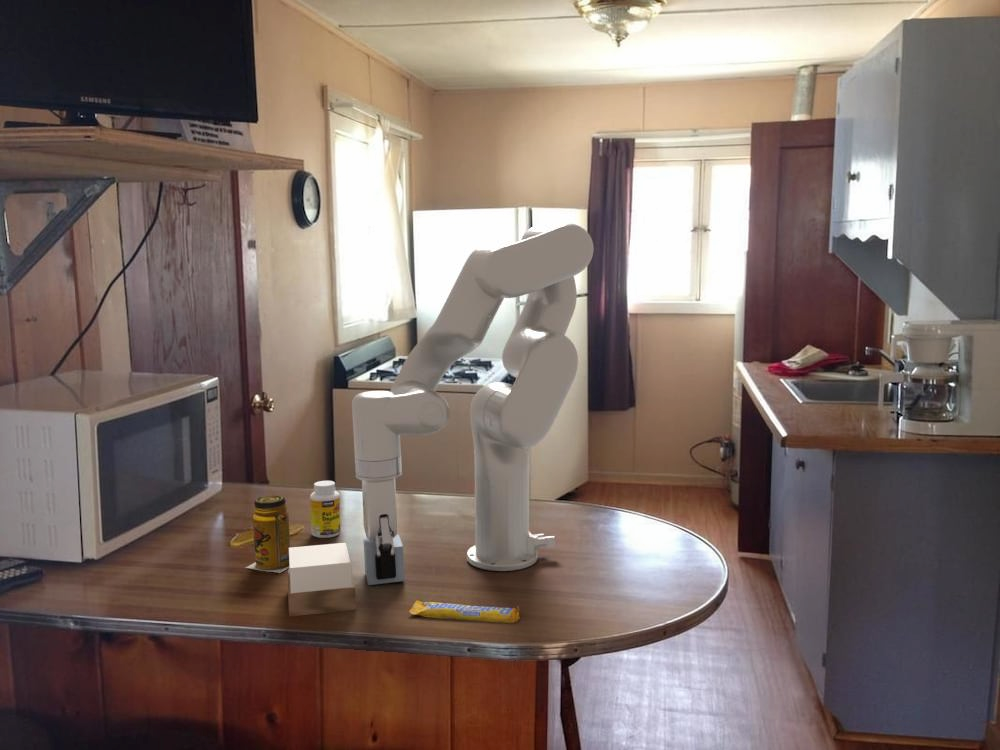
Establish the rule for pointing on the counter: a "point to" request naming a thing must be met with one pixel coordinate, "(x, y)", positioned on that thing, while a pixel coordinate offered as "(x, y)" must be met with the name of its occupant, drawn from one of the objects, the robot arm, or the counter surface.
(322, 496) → the supplement bottle
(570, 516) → the counter surface
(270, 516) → the condiment
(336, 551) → the tower top block
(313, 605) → the tower base block
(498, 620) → the candy bar
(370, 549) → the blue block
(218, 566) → the counter surface
